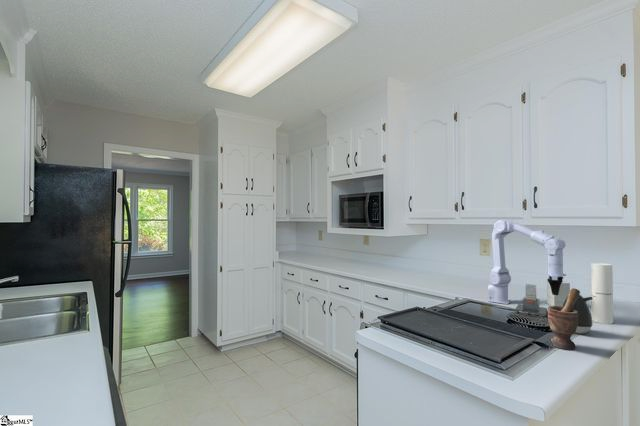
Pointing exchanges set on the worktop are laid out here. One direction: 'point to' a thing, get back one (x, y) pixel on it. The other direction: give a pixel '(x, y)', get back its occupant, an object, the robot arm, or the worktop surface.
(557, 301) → the supplement box
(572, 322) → the mortar and pestle
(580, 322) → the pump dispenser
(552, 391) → the worktop surface
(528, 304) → the stand
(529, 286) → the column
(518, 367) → the worktop surface
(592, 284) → the cylindrical container
